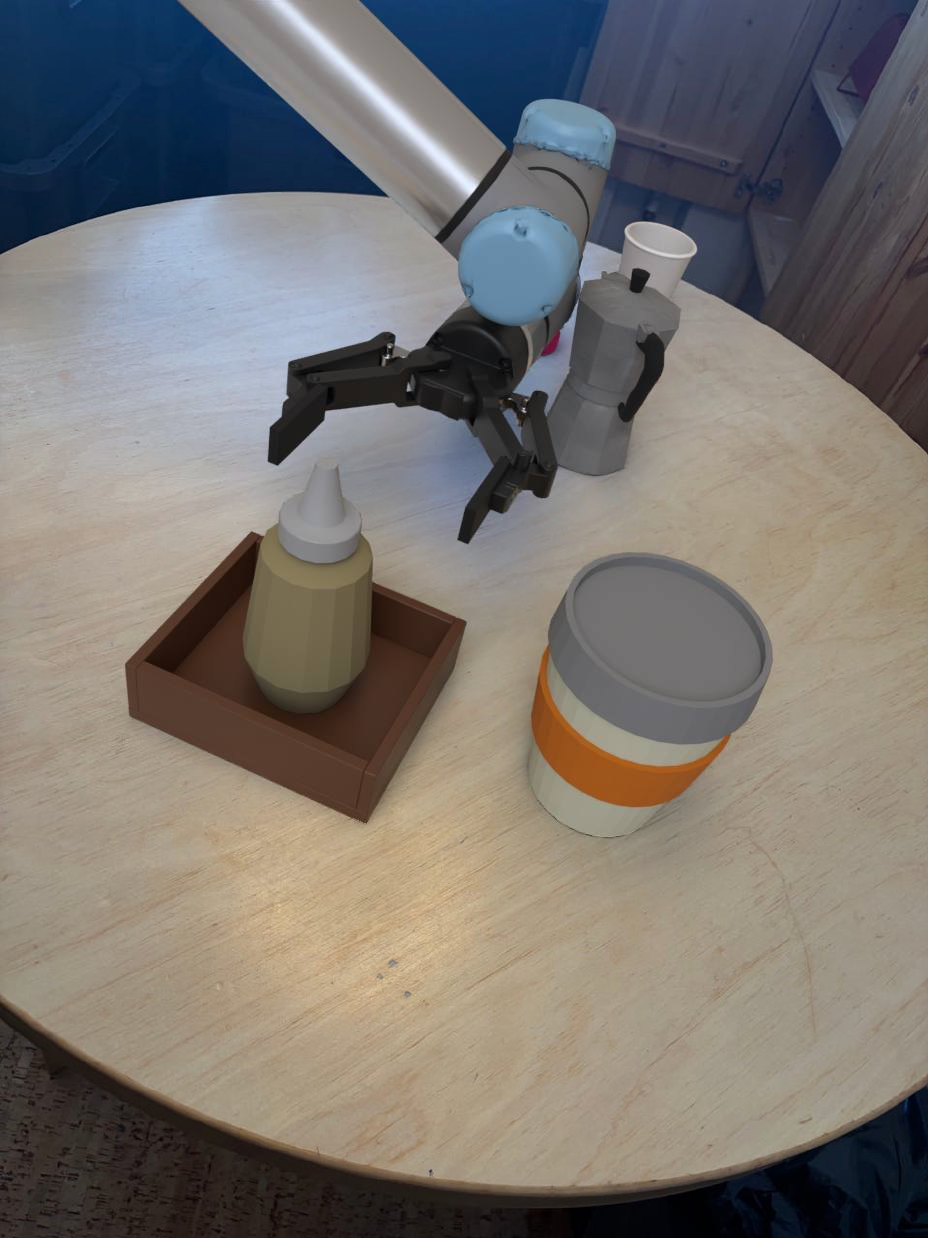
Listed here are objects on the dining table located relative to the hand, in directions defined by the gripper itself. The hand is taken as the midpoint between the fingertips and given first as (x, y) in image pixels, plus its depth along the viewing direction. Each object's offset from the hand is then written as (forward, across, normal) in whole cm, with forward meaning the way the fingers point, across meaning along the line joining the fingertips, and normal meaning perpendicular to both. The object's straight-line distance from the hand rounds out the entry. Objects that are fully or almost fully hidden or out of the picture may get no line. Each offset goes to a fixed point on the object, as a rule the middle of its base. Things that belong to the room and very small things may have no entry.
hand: (368, 486), depth 60 cm
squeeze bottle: (+7, 0, -12) cm, 14 cm away
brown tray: (+7, 0, -13) cm, 15 cm away
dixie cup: (-63, -6, -13) cm, 65 cm away
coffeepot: (-32, -9, -13) cm, 36 cm away
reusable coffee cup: (+4, -20, -13) cm, 24 cm away
